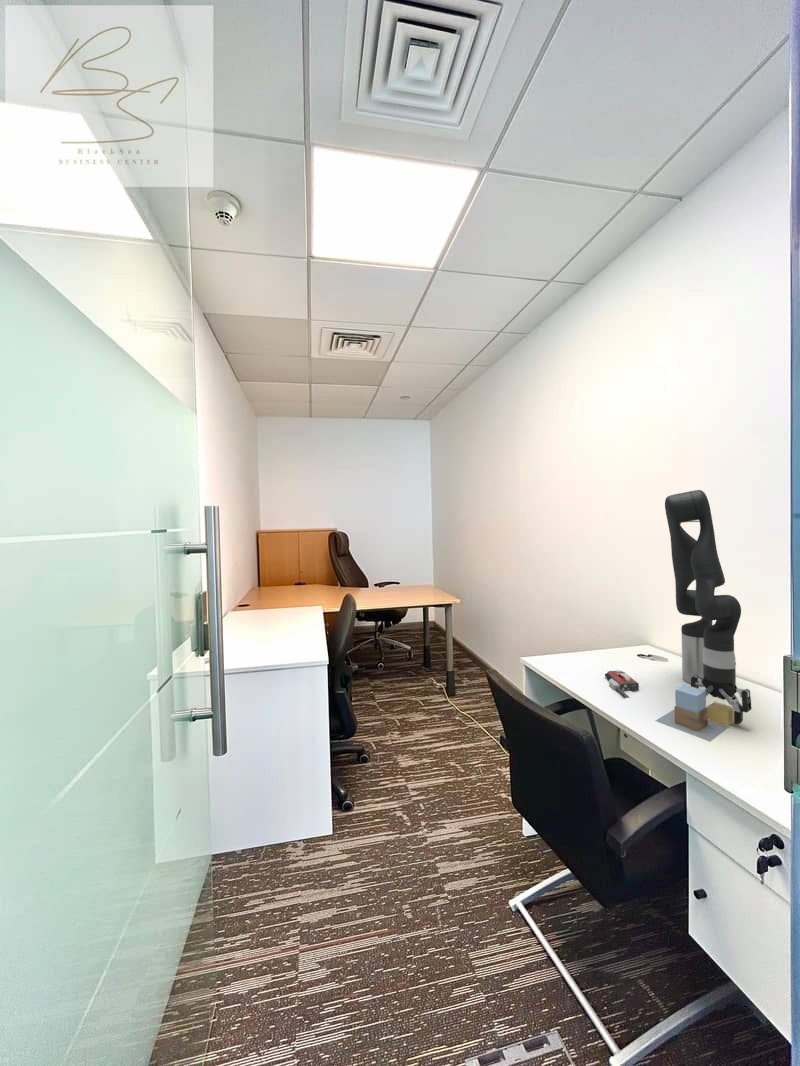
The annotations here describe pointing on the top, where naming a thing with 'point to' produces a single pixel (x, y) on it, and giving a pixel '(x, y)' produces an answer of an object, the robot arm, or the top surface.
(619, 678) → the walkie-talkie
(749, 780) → the top surface
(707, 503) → the robot arm
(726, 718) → the ochre brick
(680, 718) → the walnut brick
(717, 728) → the slate board
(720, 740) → the top surface
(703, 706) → the blue brick
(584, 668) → the top surface
